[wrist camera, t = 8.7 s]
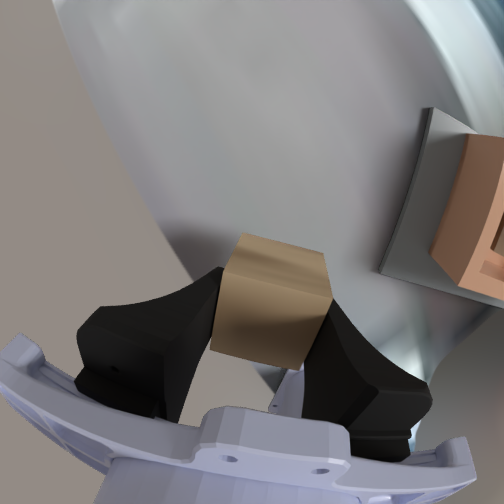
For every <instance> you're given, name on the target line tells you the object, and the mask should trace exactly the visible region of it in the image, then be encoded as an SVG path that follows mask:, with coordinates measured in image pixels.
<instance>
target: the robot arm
mask: <svg viewBox="0 0 504 504" xmlns="http://www.w3.org/2000/svg"><path fill="white" fill-rule="evenodd" d="M224 269H225V268H222V267H217V268H215V269H214V270H212V271H211V272H209V273H208V274H206V275H205V276H203V277H202V278H200V279H198V280H197V281H195V282H194V283H192V284H190V285H188V286H186V287H185V288H182V289H181V290H179V291H176V292H174V293H171V294H169V295H166V296H163V297H160V298H156V299H153V300H149V301H145V302H140V303H135V304H129V305H121V306H101V307H99V308H98V309H97V310H96V311H95V312H94V313H93V314H92V315H91V316H90V317H89V318H88V319H87V320H86V322H85V323H84V324H83V325H82V326H81V327H80V328H79V329H78V331H77V344H78V348H79V351H80V354H81V358H82V361H83V364H84V368H83V369H82V370H81V372H80V373H79V374H78V376H77V377H76V379H75V378H73V377H72V376H70V375H68V374H66V373H65V372H63V371H62V370H60V369H58V368H57V367H55V366H53V365H52V364H50V363H49V362H47V361H46V360H45V356H44V354H43V351H42V350H41V348H40V347H39V346H38V345H37V344H36V343H35V342H33V341H32V340H31V339H29V338H28V337H26V336H25V335H23V334H22V333H19V334H18V335H17V336H16V337H15V338H14V339H13V340H12V341H11V342H10V343H9V344H8V345H7V346H6V347H5V348H4V349H3V350H2V351H1V352H0V393H1V394H2V396H3V397H4V398H5V400H6V401H7V402H8V404H9V405H10V406H11V407H12V408H13V409H14V410H15V411H16V412H18V413H19V414H20V415H21V416H22V417H24V418H25V419H26V420H27V421H28V422H29V423H31V424H32V425H33V426H34V427H36V428H37V429H38V430H39V431H41V432H42V433H43V434H45V435H46V436H47V437H48V438H49V439H51V440H52V441H53V442H55V443H56V444H58V445H59V446H60V447H62V448H63V449H64V450H66V451H68V452H69V453H70V454H72V455H73V456H75V457H76V458H78V459H79V460H81V461H82V462H84V463H86V464H87V465H89V466H90V467H92V468H94V469H95V470H97V471H99V472H101V473H102V474H104V475H106V477H105V479H104V481H103V483H102V485H101V487H100V489H99V492H98V494H97V496H96V498H95V500H94V502H93V504H432V503H436V502H438V501H440V500H442V499H444V498H446V497H448V496H449V495H451V494H453V493H455V492H456V491H458V490H460V489H462V488H464V487H465V486H467V485H468V484H470V483H472V482H473V481H475V480H476V479H477V476H476V472H475V468H474V464H473V460H472V456H471V453H470V450H469V446H468V443H467V440H466V437H465V436H462V437H457V438H451V439H448V440H446V441H444V442H442V443H441V444H440V445H439V446H437V447H436V449H433V450H425V451H417V452H410V448H409V443H408V439H410V438H411V436H412V434H411V430H410V429H411V428H412V427H413V426H414V425H415V424H416V423H418V422H419V421H420V420H421V419H422V418H423V417H424V416H425V415H426V413H427V412H428V411H429V409H430V408H431V405H432V400H433V399H432V397H431V394H430V391H429V388H428V385H427V383H426V382H424V381H422V380H420V379H418V378H416V377H415V376H413V375H411V374H409V373H407V372H406V371H404V370H403V369H401V368H400V367H398V366H397V365H395V364H394V363H392V362H391V361H390V360H389V359H387V358H386V357H385V356H384V355H382V354H381V353H380V352H379V351H378V350H376V349H375V348H374V347H373V346H372V345H371V344H370V343H369V342H368V341H367V340H366V339H365V338H364V337H363V336H362V334H361V333H360V332H359V331H358V330H357V329H356V327H355V326H354V325H353V324H352V322H351V321H350V320H349V319H348V317H347V316H346V315H345V313H344V312H343V311H342V309H341V308H340V306H339V305H338V304H337V302H336V301H335V300H334V298H333V300H332V302H331V305H330V307H329V309H328V311H327V314H326V316H325V318H324V320H323V323H322V325H321V327H320V329H319V331H318V333H317V336H316V338H315V340H314V342H313V344H312V346H311V348H310V350H309V352H308V354H307V356H306V358H305V360H304V362H303V364H302V366H301V368H300V370H299V371H296V370H291V369H287V372H286V374H285V376H284V378H283V380H282V382H281V384H280V386H279V388H278V390H277V392H276V394H275V396H274V398H273V400H272V401H271V403H270V405H269V407H268V411H269V412H271V413H268V412H263V411H258V410H253V409H249V408H243V407H233V406H225V407H219V408H214V409H210V410H209V411H208V412H207V413H206V414H205V415H204V416H203V419H202V422H201V426H200V427H194V426H187V425H182V424H178V421H179V418H180V415H181V412H182V409H183V406H184V403H185V400H186V396H187V394H188V391H189V388H190V385H191V382H192V379H193V377H194V374H195V371H196V368H197V365H198V363H199V361H200V359H201V356H202V354H203V352H204V350H205V348H206V346H207V344H208V342H209V340H210V338H211V336H212V332H213V326H214V320H215V314H216V309H217V303H218V297H219V292H220V286H221V281H222V275H223V271H224ZM273 413H276V414H273Z"/></svg>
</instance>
